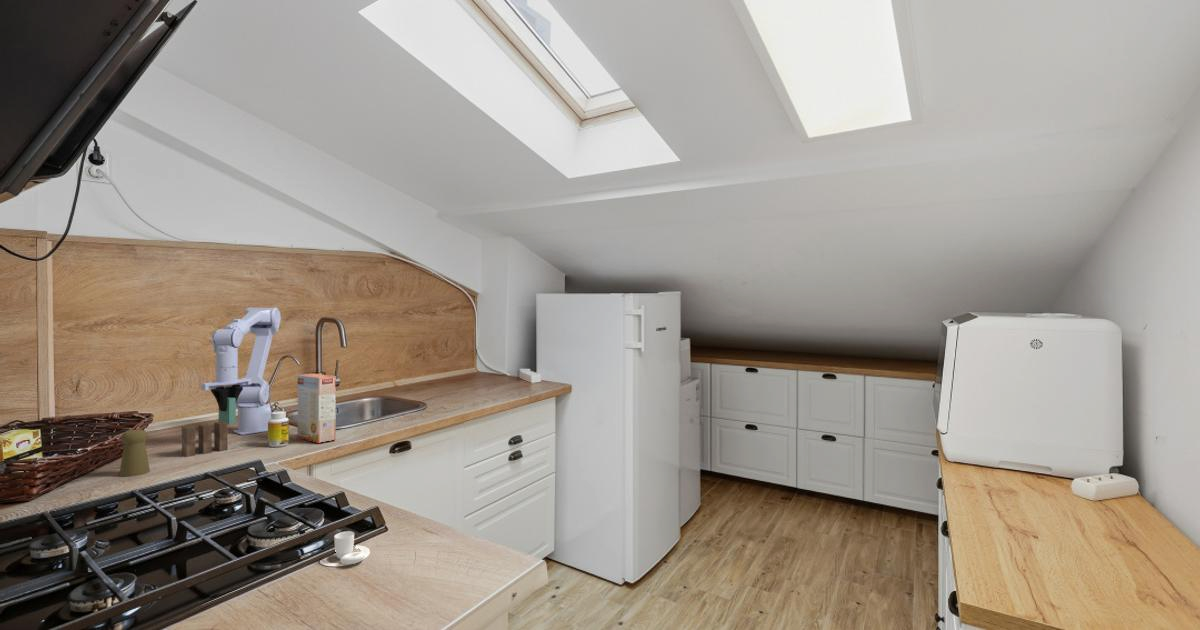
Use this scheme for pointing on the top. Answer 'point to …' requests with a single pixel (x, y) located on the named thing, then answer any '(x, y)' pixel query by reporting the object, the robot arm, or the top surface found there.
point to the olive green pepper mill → (134, 454)
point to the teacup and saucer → (347, 550)
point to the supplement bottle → (278, 429)
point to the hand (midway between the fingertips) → (227, 410)
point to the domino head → (229, 412)
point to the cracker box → (316, 407)
